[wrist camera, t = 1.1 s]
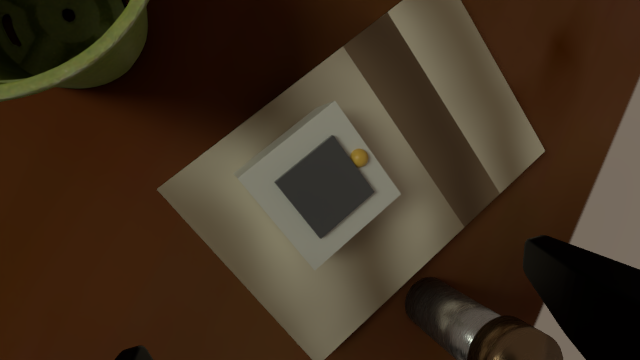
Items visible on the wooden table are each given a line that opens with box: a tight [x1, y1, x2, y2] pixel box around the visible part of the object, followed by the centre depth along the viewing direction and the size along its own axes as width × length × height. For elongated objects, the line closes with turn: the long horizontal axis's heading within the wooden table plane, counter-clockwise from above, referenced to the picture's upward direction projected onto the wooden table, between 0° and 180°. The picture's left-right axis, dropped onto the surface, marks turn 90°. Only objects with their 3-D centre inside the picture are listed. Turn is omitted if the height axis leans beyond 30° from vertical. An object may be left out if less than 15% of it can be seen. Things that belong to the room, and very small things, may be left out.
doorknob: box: [405, 277, 563, 360], centre depth 19 cm, size 4×4×8 cm
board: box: [157, 0, 545, 360], centre depth 20 cm, size 18×12×2 cm, turn 128°
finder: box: [233, 101, 401, 270], centre depth 16 cm, size 5×5×3 cm
